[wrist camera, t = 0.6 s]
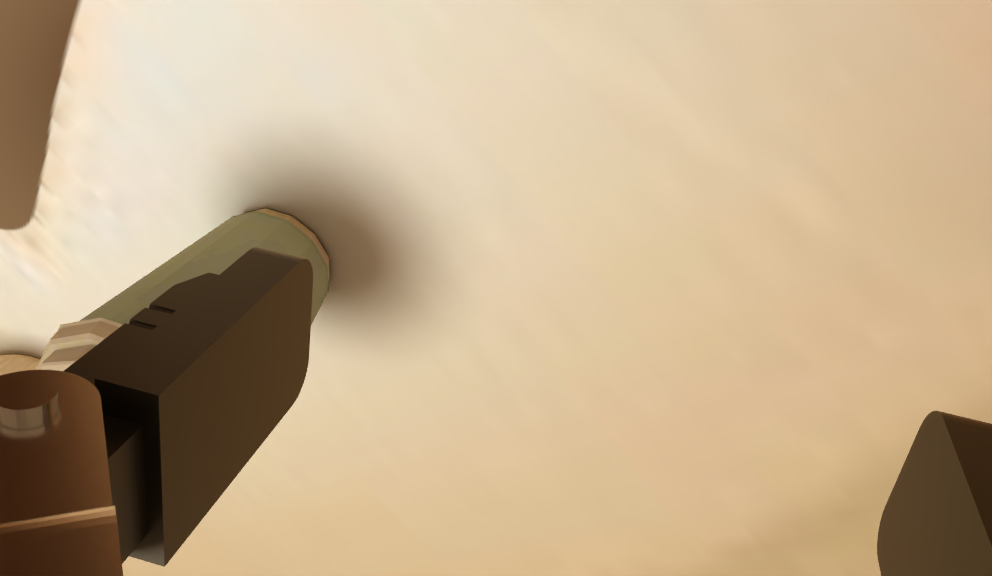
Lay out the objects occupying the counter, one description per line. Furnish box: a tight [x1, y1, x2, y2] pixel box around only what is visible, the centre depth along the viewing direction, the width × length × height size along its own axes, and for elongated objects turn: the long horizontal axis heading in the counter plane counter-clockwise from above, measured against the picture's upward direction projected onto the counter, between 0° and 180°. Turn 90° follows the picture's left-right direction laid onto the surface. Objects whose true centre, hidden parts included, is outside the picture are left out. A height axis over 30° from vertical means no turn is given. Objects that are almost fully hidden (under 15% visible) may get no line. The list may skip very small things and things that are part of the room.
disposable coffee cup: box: [37, 208, 330, 371], centre depth 46 cm, size 11×11×15 cm
